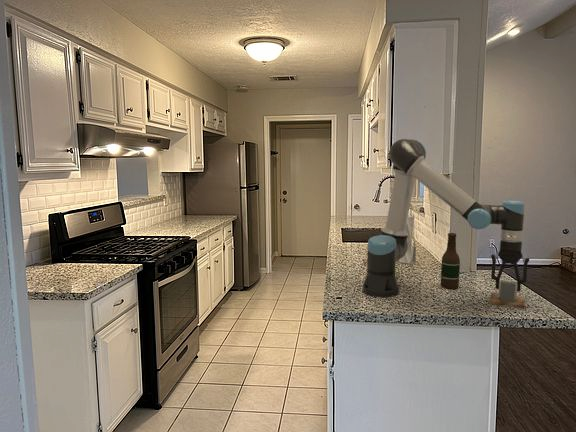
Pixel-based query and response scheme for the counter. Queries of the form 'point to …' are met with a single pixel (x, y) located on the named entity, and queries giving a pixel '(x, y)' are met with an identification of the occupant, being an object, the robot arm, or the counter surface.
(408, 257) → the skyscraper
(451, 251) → the beer bottle
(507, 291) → the plug
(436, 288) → the counter surface
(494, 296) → the walnut board
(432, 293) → the counter surface
